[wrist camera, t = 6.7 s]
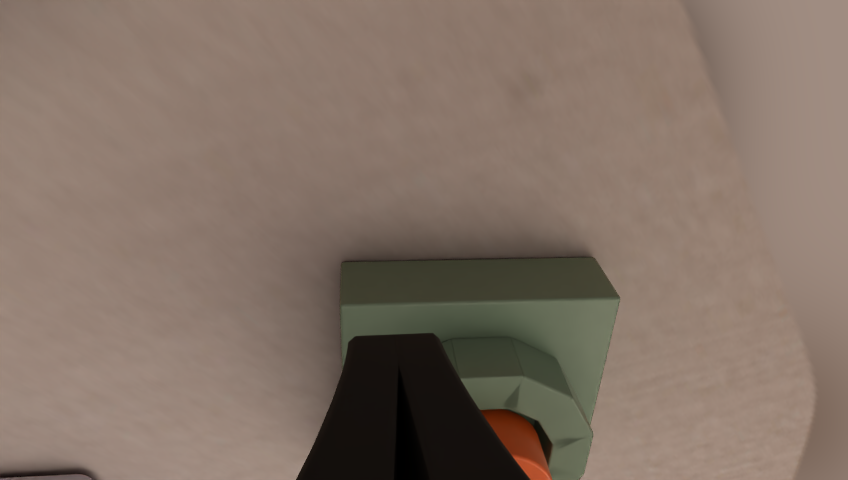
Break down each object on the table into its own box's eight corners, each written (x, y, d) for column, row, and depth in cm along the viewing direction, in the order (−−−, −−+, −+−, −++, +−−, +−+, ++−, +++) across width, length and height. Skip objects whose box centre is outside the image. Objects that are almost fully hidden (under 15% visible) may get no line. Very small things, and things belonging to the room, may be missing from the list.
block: (554, 453, 24) (587, 548, 21) (348, 464, 23) (347, 565, 20) (594, 256, 20) (646, 335, 16) (340, 260, 19) (337, 345, 15)
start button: (530, 487, 19) (545, 538, 18) (416, 494, 19) (421, 546, 18) (546, 403, 18) (563, 452, 16) (420, 408, 17) (427, 458, 16)
